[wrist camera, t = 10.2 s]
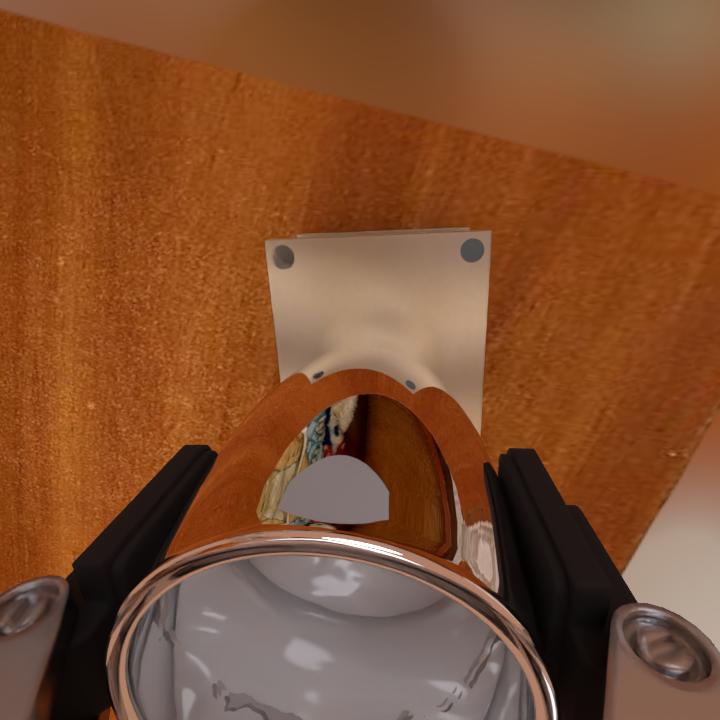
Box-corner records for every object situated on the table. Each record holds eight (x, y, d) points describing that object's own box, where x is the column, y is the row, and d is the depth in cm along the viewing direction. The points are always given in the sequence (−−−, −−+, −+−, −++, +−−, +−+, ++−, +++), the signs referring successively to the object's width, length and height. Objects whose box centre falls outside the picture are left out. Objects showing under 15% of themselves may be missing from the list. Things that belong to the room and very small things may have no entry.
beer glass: (374, 260, 18) (287, 407, 4) (481, 363, 19) (694, 753, 5) (277, 365, 20) (6, 697, 6) (379, 453, 22) (341, 900, 7)
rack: (306, 232, 27) (263, 239, 19) (462, 226, 26) (492, 230, 18) (320, 400, 31) (289, 469, 22) (456, 400, 30) (478, 472, 21)
